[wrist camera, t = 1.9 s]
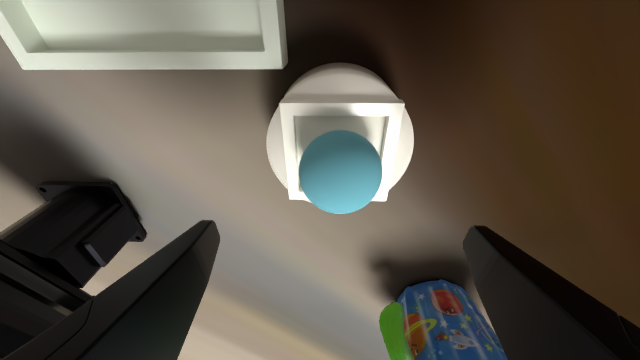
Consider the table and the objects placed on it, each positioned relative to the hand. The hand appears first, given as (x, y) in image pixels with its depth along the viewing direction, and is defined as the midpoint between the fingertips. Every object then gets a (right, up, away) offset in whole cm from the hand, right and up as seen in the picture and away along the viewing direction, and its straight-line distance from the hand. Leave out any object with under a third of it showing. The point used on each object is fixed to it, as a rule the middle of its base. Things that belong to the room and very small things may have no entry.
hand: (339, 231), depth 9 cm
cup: (+1, +5, +8) cm, 9 cm away
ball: (0, +3, +5) cm, 6 cm away
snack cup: (+12, -11, +19) cm, 25 cm away
